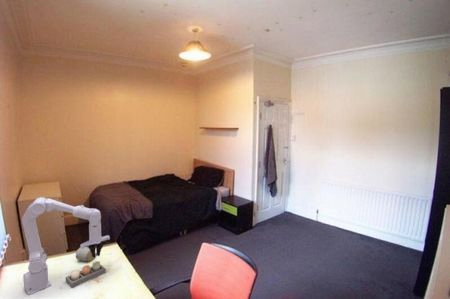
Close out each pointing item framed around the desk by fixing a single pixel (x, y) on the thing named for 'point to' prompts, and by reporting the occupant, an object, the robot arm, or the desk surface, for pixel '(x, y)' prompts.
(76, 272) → the button cream
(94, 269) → the button sage
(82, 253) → the ceramic mug
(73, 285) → the panel
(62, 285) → the desk surface
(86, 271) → the button terracotta
